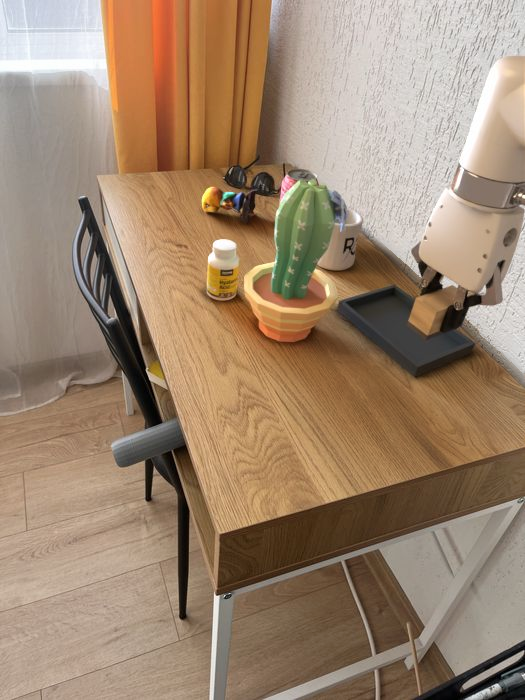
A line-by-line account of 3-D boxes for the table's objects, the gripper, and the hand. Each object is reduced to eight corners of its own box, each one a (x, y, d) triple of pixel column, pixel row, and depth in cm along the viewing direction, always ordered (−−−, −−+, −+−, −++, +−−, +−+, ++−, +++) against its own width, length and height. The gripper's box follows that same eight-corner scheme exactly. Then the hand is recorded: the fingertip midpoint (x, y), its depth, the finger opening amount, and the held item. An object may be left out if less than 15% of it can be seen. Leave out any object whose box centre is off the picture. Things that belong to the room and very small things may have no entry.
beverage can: (316, 224, 120) (325, 172, 113) (306, 238, 114) (315, 185, 107) (283, 215, 122) (289, 164, 115) (272, 229, 116) (278, 176, 109)
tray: (471, 352, 88) (476, 343, 87) (414, 377, 82) (418, 367, 81) (391, 293, 100) (394, 284, 99) (336, 310, 94) (338, 300, 93)
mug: (339, 277, 103) (349, 230, 97) (300, 260, 107) (308, 214, 101) (368, 255, 111) (380, 211, 105) (332, 240, 115) (341, 196, 109)
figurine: (198, 213, 119) (199, 187, 115) (214, 202, 124) (216, 176, 120) (243, 227, 116) (246, 201, 112) (258, 215, 121) (260, 189, 117)
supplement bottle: (218, 305, 92) (220, 255, 86) (200, 290, 95) (201, 241, 89) (242, 296, 95) (247, 247, 88) (224, 282, 98) (227, 234, 92)
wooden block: (441, 312, 72) (452, 284, 70) (461, 326, 70) (473, 298, 67) (406, 325, 69) (416, 297, 66) (425, 340, 67) (436, 312, 64)
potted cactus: (322, 364, 82) (356, 215, 66) (228, 342, 84) (238, 192, 68) (335, 310, 94) (366, 173, 78) (251, 292, 96) (265, 155, 80)
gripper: (575, 211, 54) (505, 348, 66) (452, 156, 64) (410, 283, 76) (532, 224, 51) (467, 366, 62) (409, 163, 61) (373, 295, 72)
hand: (436, 319), depth 69 cm, fingers closed on wooden block, 3 cm apart
